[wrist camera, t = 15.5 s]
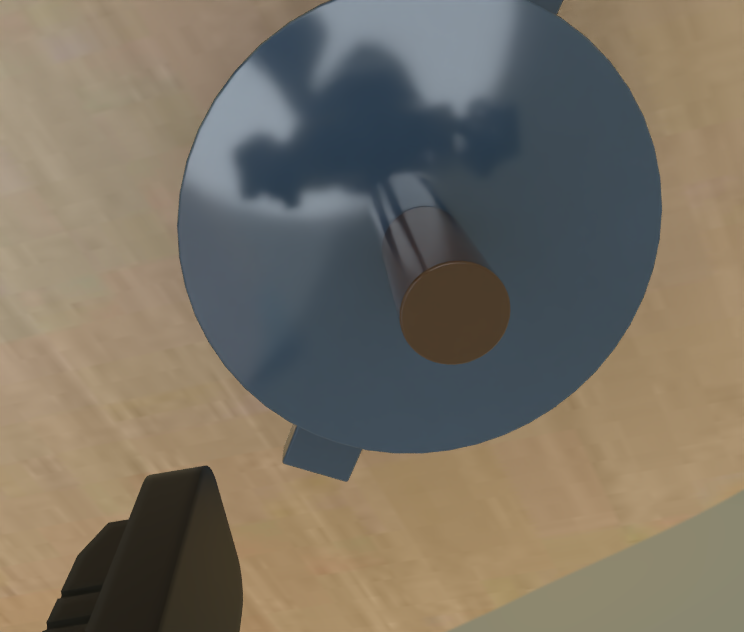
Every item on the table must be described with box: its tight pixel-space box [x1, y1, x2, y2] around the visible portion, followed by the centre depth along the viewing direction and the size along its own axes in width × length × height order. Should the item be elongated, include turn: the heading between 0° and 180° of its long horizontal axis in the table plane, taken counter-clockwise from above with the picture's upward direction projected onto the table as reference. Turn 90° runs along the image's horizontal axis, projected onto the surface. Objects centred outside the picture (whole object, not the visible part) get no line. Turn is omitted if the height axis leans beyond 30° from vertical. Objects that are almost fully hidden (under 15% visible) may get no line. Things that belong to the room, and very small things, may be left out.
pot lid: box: [177, 0, 662, 453], centre depth 17 cm, size 14×14×6 cm
